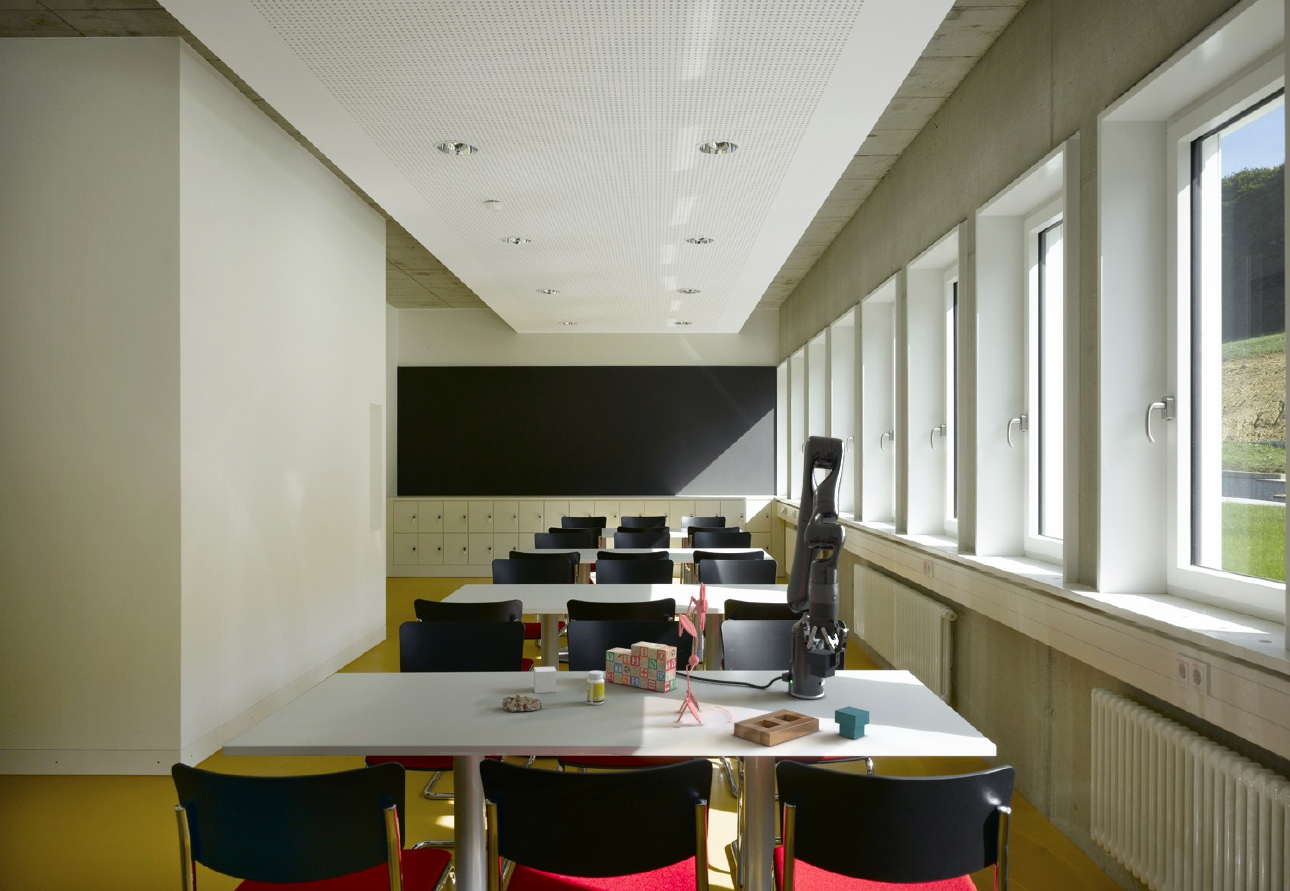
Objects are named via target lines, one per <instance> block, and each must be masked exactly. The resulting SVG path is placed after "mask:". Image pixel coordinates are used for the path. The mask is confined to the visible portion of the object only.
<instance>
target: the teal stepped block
mask: <svg viewBox="0 0 1290 891" xmlns="http://www.w3.org/2000/svg"><path fill="white" fill-rule="evenodd" d="M834 723H835V724H839V726H838V735H839V736H842V737H844V738H849V739H853V740H856V739H859V738H862V737H865V726H866V725H869V724H870V711H868V710H866V709H861V708H858V707H854V706H849V705H848V706H845V707H841V708H838V709H836V710H834Z"/></svg>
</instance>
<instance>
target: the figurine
mask: <svg viewBox="0 0 1290 891" xmlns="http://www.w3.org/2000/svg"><path fill="white" fill-rule="evenodd" d="M706 594H707V586H706V584H704V583H703V582H701V583H700V587H699V598H698V599H696V597H694V596H693V595H691V596H690V600H689V604H688V606H687V611H686V614H685V615H684V614H682V613H678V614H677V615H678V638H681V637H682V634H683V633H684V632H683V631H684V630H685V632H687V633H688V634H689V635H690V636H692V637H693V638H694V639H695V644H694V646H695V648H694V654H692V655H690V656H689V658H688V664H686V665H685V671H686V674H687V677H686V678H687V689H686V691H685V692H686V694H687V695H686V696H685V698H684V699H683V702H682V704H681V706H680V708H679V710H678V713H680V714H679V717H678V718H677V720H676V722H677V723H680V722H681V719H682V718H683V715H684V713H685V711H686V710H687V708H688V709H689V711H690V713H691V714H692V716H693V717H694V719H695V720H696V721H697V722H698V723H699V725H701V724H702V721H701V718H700V715H699V714H698V712H697V710H698V711H699V710H700V705H699V703H698V700H697V699H696V697H695V696H694V695H693V693H692V692H693V691H691V684H690V683H691V682H690V678H689V675H691V672H692V671H693V669H694V667H695V666H698V664H699V662H700V658H699V657H698V655H697V653H698V652H697V651H698V642H699V637H698V634H697V629H696V628H695V626H694V624H693V622H692V621H691V618H692V617H693V615H694V614H695V612H696V614H697V615H698V617H697V618H698V619H697V620H698V624H697V625H698V630H701V631H702V632H703V631H704V630H705V618H706V616H705V615H706V614H707V613H708V611H709V600H708V599H706ZM692 603H693V604H694V605H695V607H694V608H693V610H692V611H691V613H690V610H691V606H692V605H693V604H692ZM689 613H690V614H689ZM689 666H691V668H690V670H689V669H688V667H689ZM715 708H716V709H719V710H722V711H724V712H726V713H728V714H729V715H730V716H731V717H732V714H731V713H730V712H729V710H727V709H723V708H721V707H718V706H715ZM731 721H732V719H729V721H727V724H728V723H730V722H731ZM674 728H676V729H680V727H679V726H674Z"/></svg>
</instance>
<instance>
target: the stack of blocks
mask: <svg viewBox="0 0 1290 891" xmlns="http://www.w3.org/2000/svg"><path fill="white" fill-rule="evenodd" d="M676 672H677V646H671V645H667V644H664V643H663V644H662V643H653V642H647V641H646V642H645V641H639V642H636V643H632V644H631V645H630V649H629V648H623V647H614V648H611V649H608V650H606V651H605V682H610V683H614V684H620V685H625V686H631V687H635V688H641V689H647V690H649V691H650V690H651V691H655V692H656V691H657V692H661V693H667V692H669V691H672V690H674V689H676V681H677V680H676V679H677V678H676Z"/></svg>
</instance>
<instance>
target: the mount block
mask: <svg viewBox="0 0 1290 891" xmlns="http://www.w3.org/2000/svg"><path fill="white" fill-rule="evenodd" d="M819 731H820V718H818V717H814V716H810V715H807V714H804V713H800V712H796V711H792V710H788V709H785V708H782V709H779V710H775V711H772V712H768V713H765V714H760V715H758V716H753V717H751V718H746V719H742V720H740V721H736V722H735V721H734V722H733V735H734V736H736V737H739V738H742V739H744V740H748V741H751V742H754V743H757V744H760V745H764V746H766V747H772V746H776V745H779V744H782V743H785V742H788V741H791V740H794V739H798V738H801V737H803V736H806V735H809V734H813V733H816V732H819Z"/></svg>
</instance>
